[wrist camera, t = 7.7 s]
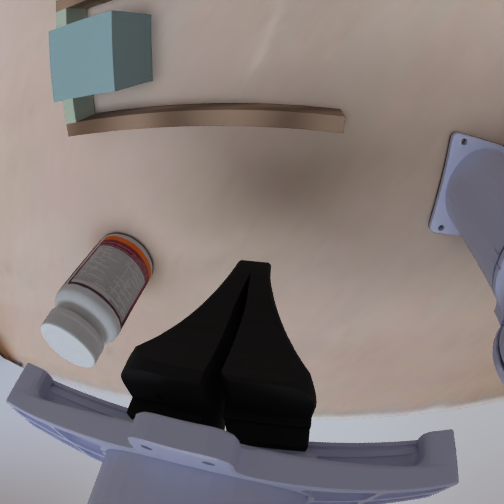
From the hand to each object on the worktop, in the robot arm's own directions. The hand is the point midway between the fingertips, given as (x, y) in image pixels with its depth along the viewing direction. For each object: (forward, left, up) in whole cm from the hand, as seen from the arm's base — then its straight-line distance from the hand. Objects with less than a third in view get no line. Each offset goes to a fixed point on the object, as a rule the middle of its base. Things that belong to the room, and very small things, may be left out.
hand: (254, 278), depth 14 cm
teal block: (+11, -11, -10) cm, 18 cm away
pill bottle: (+14, +8, -10) cm, 19 cm away
